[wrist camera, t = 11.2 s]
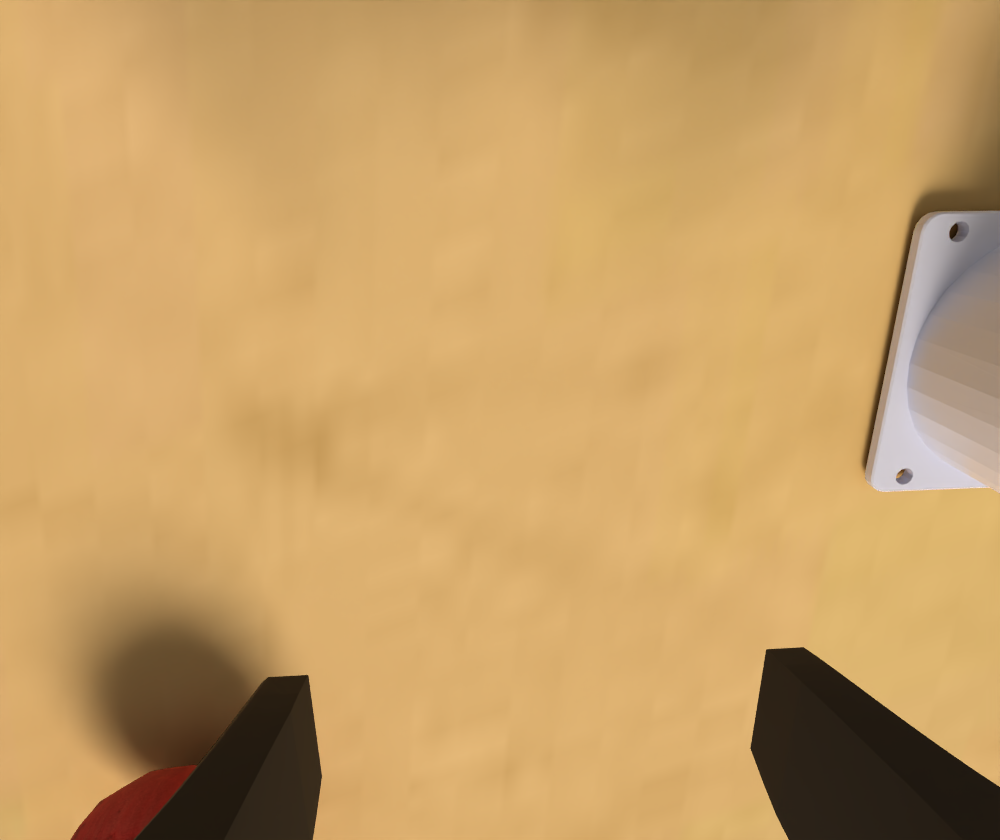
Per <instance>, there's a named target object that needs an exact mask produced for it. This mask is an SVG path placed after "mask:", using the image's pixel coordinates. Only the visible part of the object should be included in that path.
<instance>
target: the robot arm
mask: <svg viewBox="0 0 1000 840" xmlns="http://www.w3.org/2000/svg"><path fill="white" fill-rule="evenodd" d="M955 223H957V225H958V232H957V234H956V236H955V237H954V238H952V239H950V237H949V231H950V229H951V227H952V226H953V225H954V224H955ZM902 469H905V471H904V473H903V475H902V476H900V477H899V478H896V476H897V474H898V472H899V471H901V470H902ZM865 479H866V481H867V483H868V484H869V485H871V486H872V487H873V488H875V489H876V490H878V491H883V492H888V491H912V490H937V489H961V488H986V487H990V488H991V489H993V490H995V491H997V492H998V493H1000V210H998V211H935V212H930V213H928V214H926V215H924V216H923V217H921V219H920V220H919V221H918V222H917V224H916V226H915V229H914V231H913V236H912V241H911V246H910V251H909V256H908V261H907V266H906V271H905V276H904V281H903V286H902V291H901V296H900V301H899V306H898V311H897V316H896V321H895V326H894V331H893V336H892V341H891V346H890V351H889V356H888V361H887V366H886V371H885V376H884V381H883V386H882V391H881V396H880V401H879V406H878V411H877V416H876V421H875V426H874V431H873V436H872V441H871V446H870V451H869V456H868V461H867V466H866V471H865ZM751 751H752V754H753V756H754V759H755V762H756V764H757V767H758V770H759V772H760V775H761V778H762V780H763V783H764V786H765V788H766V791H767V793H768V796H769V798H770V800H771V803H772V805H773V808H774V810H775V813H776V815H777V817H778V819H779V821H780V823H781V825H782V827H783V829H784V831H785V833H786V835H787V837H788V839H789V840H1000V787H999V786H997V785H996V784H994V783H993V782H991V781H990V780H988V779H987V778H985V777H984V776H982V775H981V774H979V773H978V772H976V771H975V770H973V769H972V768H970V767H969V766H967V765H966V764H964V763H963V762H962V761H960V760H959V759H957V758H956V757H954V756H953V755H951V754H950V753H948V752H947V751H946V750H944V749H943V748H941V747H940V746H939V745H937V744H936V743H934V742H933V741H932V740H930V739H929V738H927V737H926V736H925V735H923V734H922V733H920V732H919V731H918V730H916V729H915V728H913V727H912V726H911V725H909V724H908V723H907V722H905V721H904V720H902V719H901V718H900V717H898V716H897V715H896V714H894V713H893V712H892V711H890V710H889V709H887V708H886V707H885V706H883V705H882V704H881V703H879V702H878V701H877V700H875V699H874V698H873V697H871V696H870V695H869V694H867V693H866V692H864V691H863V690H862V689H860V688H859V687H858V686H856V685H855V684H854V683H852V682H851V681H850V680H848V679H847V678H846V677H844V676H843V675H842V674H840V673H839V672H838V671H836V670H835V669H833V668H832V667H831V666H829V665H828V664H827V663H825V662H824V661H822V660H821V659H820V658H818V657H817V656H815V655H814V654H812V653H811V652H809V651H808V650H807V649H805V648H804V647H801V648H783V649H766V655H765V661H764V667H763V674H762V680H761V686H760V692H759V699H758V705H757V711H756V717H755V724H754V730H753V736H752V742H751ZM321 779H322V774H321V766H320V759H319V752H318V744H317V737H316V729H315V722H314V714H313V707H312V700H311V692H310V685H309V677H308V675H301V676H283V677H268V678H267V679H266V680H265V681H264V682H263V683H261V685H260V686H259V687H258V689H257V690H256V691H255V693H254V694H253V695H252V696H251V698H250V699H249V700H248V702H247V703H246V704H245V706H244V707H243V708H242V710H241V711H240V712H239V714H238V715H237V716H236V717H235V719H234V720H233V721H232V723H231V724H230V725H229V726H228V728H227V729H226V730H225V732H224V733H223V734H222V735H221V737H220V738H219V739H218V740H217V742H216V743H215V744H214V746H213V747H212V748H211V749H210V751H209V752H208V753H207V754H206V756H205V757H204V758H203V759H202V760H201V762H200V763H199V764H198V765H197V766H196V768H195V769H194V770H193V771H192V773H191V774H190V775H189V776H188V777H187V779H186V780H185V781H184V782H183V783H182V785H181V786H180V787H179V788H178V789H177V791H176V792H175V793H174V794H173V795H172V797H171V798H170V799H169V800H168V801H167V803H166V804H165V805H164V806H163V807H162V808H161V809H160V811H159V812H158V813H157V814H156V815H155V816H154V817H153V818H152V820H151V821H150V822H149V823H148V824H147V825H146V826H145V827H144V828H143V830H142V831H141V832H140V833H139V834H138V835H137V836H136V837H135V838H134V840H313V834H314V828H315V821H316V815H317V808H318V800H319V793H320V786H321Z"/></svg>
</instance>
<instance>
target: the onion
mask: <svg viewBox="0 0 1000 840" xmlns="http://www.w3.org/2000/svg"><path fill="white" fill-rule="evenodd" d="M196 766H197V765H189V766H181V767H173V768H166V769H161V770H156V771H151V772H149V773H147V774H145V775H143V776H142V777H140V778H138V779H137V780H135V781H133V782H131V783H130V784H128V785H126V786H125V787H123V788H121V789H120V790H118V791H117V792H115V793H113V794H112V795H110V796H108V797H107V798H105V799H103V800H102V801H100V802H99V803H98V805H97V806H96V807H95V808H94V809H93V811H92V812H91V813H90V814H89V815H88V816H87V818H86V819H85V820H84V821H83V822H82V824H81V825H80V826H79V827H78V829H77V830H76V832H75V833H74V835H73V837H72V838H71V840H134V838H135V837H136V836H137V835H138V834H139V833H140V832H141V831H142V830H143V828H144V827H145V826H146V825H147V824H148V823H149V822H150V821H151V820H152V818H153V817H154V816H155V815H156V814H157V813H158V812H159V811H160V809H161V808H162V807H163V806H164V805H165V804H166V803H167V801H168V800H169V799H170V798H171V797H172V795H173V794H174V793H175V792H176V791H177V789H178V788H179V787H180V786H181V785H182V783H183V782H184V781H185V780H186V779H187V777H188V776H189V775H190V774H191V773H192V771H193V770H194V769H195V768H196Z"/></svg>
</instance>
